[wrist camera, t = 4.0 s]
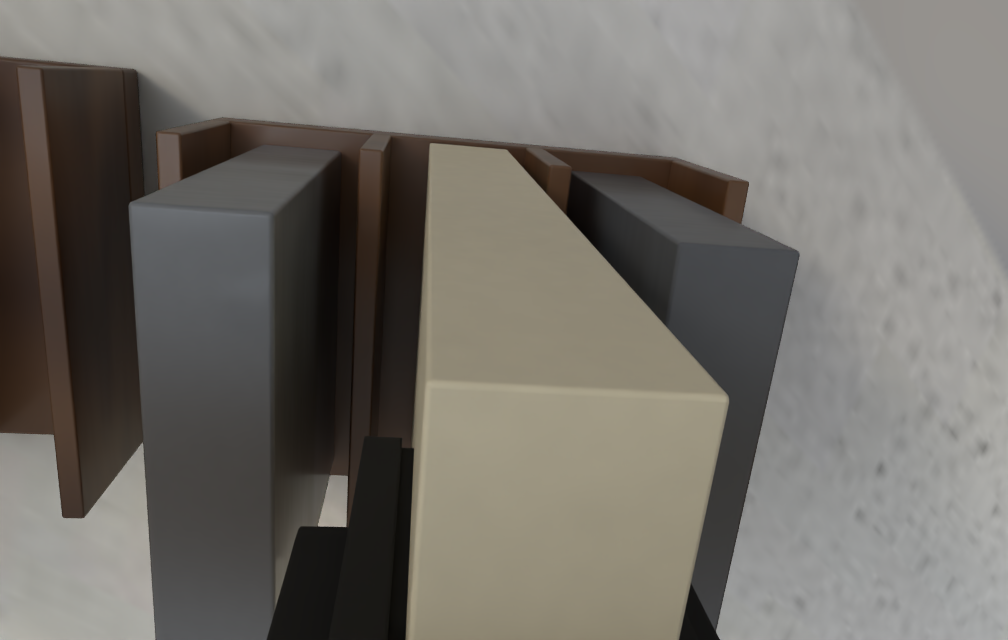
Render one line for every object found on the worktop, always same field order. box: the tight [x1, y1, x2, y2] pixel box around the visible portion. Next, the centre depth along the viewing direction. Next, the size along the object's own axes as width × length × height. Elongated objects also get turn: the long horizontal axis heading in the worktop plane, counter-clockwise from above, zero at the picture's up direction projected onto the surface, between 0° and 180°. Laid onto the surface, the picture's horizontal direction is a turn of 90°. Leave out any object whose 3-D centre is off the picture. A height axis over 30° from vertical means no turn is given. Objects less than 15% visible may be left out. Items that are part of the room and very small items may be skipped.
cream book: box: [405, 143, 729, 640], centre depth 13 cm, size 9×2×15 cm, turn 175°
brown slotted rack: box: [128, 117, 799, 640], centre depth 17 cm, size 10×12×10 cm
